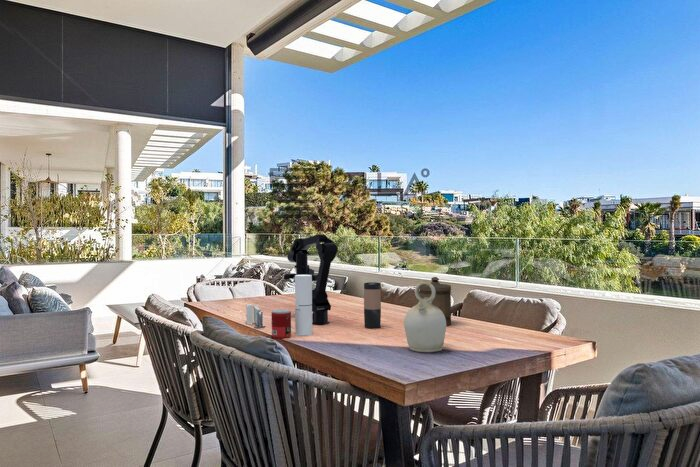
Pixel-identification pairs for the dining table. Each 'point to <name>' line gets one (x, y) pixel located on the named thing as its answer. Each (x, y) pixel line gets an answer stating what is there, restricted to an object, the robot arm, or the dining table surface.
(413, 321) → the jug
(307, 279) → the cylindrical container
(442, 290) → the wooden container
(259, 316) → the hinge post
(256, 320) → the gate
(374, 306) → the travel mug
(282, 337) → the canned food
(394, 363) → the dining table surface
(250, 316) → the latch post
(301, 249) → the robot arm
